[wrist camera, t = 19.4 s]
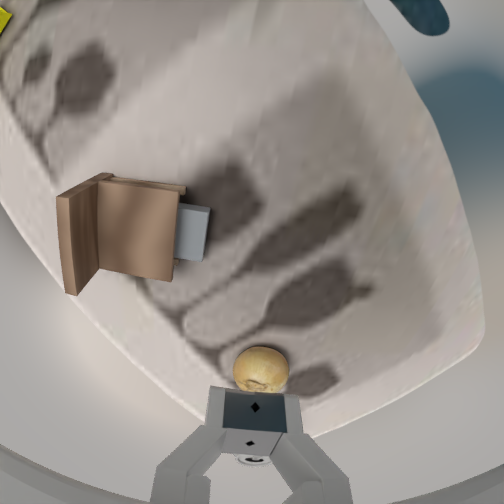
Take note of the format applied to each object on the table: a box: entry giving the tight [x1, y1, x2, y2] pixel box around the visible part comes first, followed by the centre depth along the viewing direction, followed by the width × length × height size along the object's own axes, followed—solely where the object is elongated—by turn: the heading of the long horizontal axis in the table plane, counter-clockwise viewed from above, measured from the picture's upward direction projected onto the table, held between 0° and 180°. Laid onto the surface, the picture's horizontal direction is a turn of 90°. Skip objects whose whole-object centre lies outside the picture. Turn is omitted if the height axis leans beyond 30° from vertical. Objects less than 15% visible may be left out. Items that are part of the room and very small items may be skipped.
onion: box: [233, 347, 289, 393], centre depth 41 cm, size 8×8×7 cm
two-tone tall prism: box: [174, 203, 210, 262], centre depth 34 cm, size 12×6×2 cm, turn 79°
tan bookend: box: [56, 173, 186, 296], centre depth 30 cm, size 10×10×10 cm
